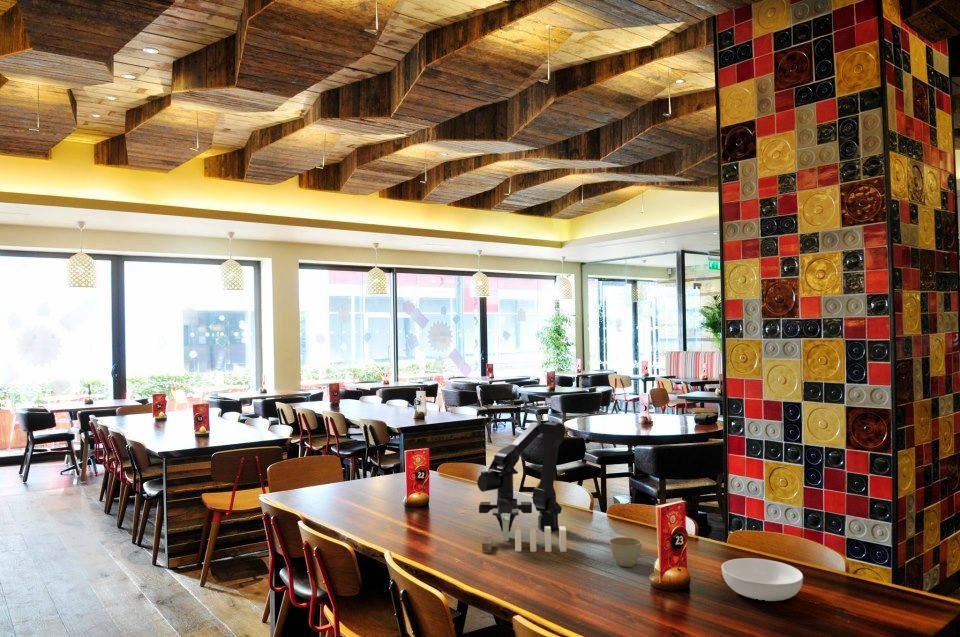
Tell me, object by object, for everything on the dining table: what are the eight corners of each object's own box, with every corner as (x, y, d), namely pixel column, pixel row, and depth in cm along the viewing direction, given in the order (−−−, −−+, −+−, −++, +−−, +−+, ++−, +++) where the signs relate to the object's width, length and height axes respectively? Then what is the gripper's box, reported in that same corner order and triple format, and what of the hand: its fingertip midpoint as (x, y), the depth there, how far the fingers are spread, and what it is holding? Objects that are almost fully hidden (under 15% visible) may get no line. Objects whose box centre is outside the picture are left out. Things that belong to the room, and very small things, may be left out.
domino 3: (550, 547, 240) (550, 526, 240) (551, 551, 235) (550, 530, 235) (544, 547, 240) (544, 526, 241) (545, 551, 235) (544, 530, 236)
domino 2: (536, 547, 241) (535, 526, 241) (536, 551, 236) (535, 530, 236) (530, 546, 241) (529, 526, 241) (530, 551, 236) (529, 530, 236)
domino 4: (565, 547, 240) (565, 526, 240) (566, 551, 235) (566, 530, 235) (559, 547, 240) (559, 526, 240) (560, 551, 235) (559, 530, 235)
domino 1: (521, 546, 241) (521, 526, 241) (521, 551, 236) (520, 530, 236) (515, 546, 241) (515, 526, 241) (515, 551, 236) (514, 530, 236)
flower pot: (643, 560, 224) (643, 538, 225) (640, 570, 215) (639, 547, 215) (612, 558, 228) (611, 535, 228) (607, 567, 218) (607, 544, 218)
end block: (492, 545, 243) (492, 536, 243) (491, 552, 235) (491, 543, 235) (483, 545, 243) (483, 536, 243) (482, 552, 235) (482, 543, 235)
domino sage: (509, 537, 253) (508, 517, 253) (508, 541, 248) (508, 521, 248) (503, 537, 253) (503, 517, 253) (503, 541, 248) (502, 521, 248)
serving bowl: (762, 615, 180) (762, 588, 180) (705, 588, 199) (705, 564, 200) (821, 601, 189) (820, 575, 189) (761, 577, 208) (761, 554, 208)
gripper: (477, 492, 243) (478, 538, 243) (531, 492, 242) (532, 538, 242) (479, 485, 254) (480, 529, 254) (531, 485, 253) (532, 529, 253)
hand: (505, 531), depth 250 cm, fingers closed on domino sage, 2 cm apart
